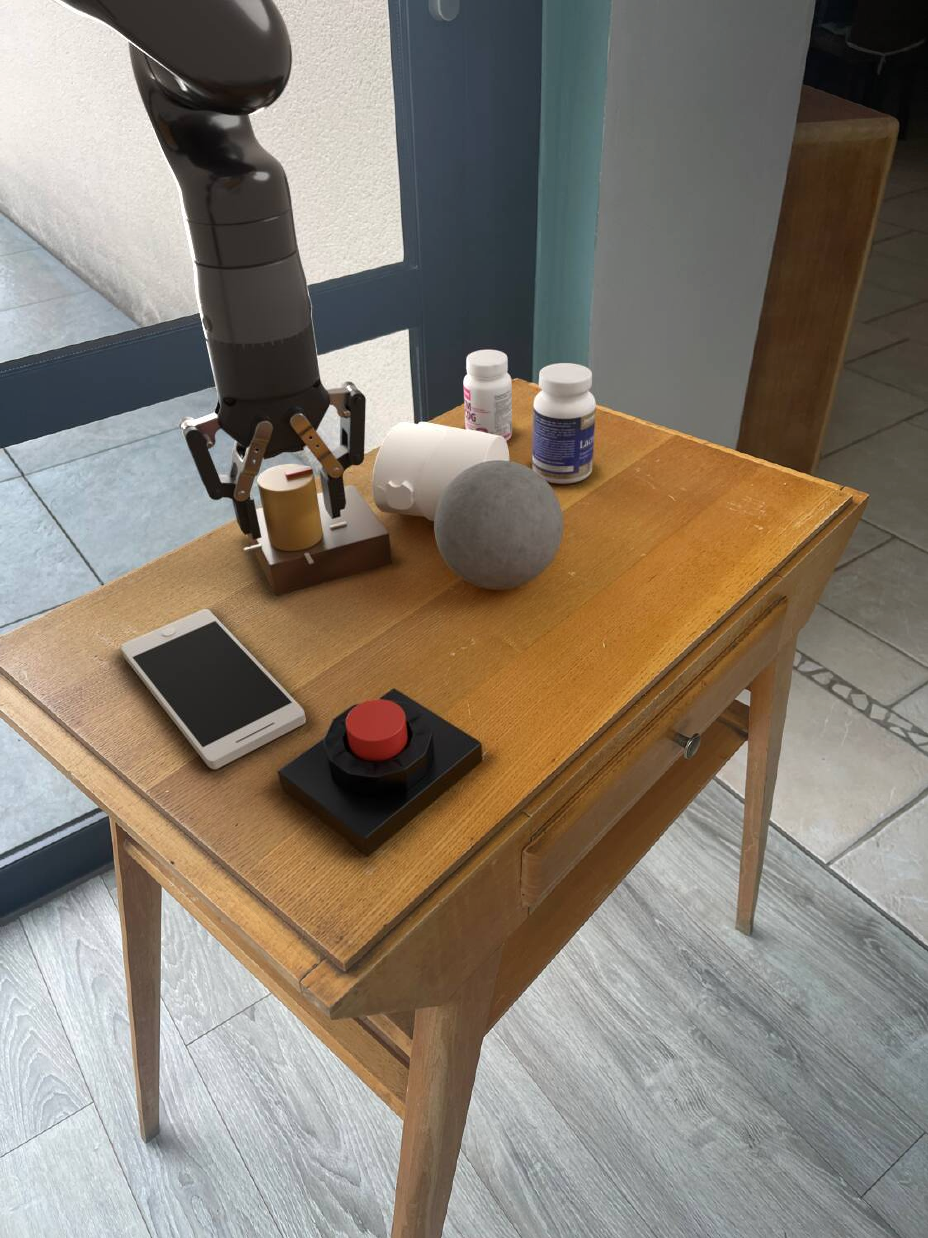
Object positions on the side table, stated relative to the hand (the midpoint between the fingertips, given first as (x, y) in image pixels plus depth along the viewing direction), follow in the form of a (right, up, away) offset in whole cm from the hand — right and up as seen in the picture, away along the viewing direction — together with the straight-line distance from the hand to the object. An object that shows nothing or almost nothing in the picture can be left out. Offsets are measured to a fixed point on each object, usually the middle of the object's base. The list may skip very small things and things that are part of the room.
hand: (293, 523), depth 75 cm
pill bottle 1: (+16, +11, +20) cm, 28 cm away
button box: (+9, -18, -16) cm, 25 cm away
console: (+1, -2, +4) cm, 5 cm away
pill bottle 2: (+23, +6, +14) cm, 28 cm away
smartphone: (-4, -13, -9) cm, 16 cm away
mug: (+13, +2, +10) cm, 16 cm away
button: (+8, -15, -18) cm, 25 cm away
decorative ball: (+17, -5, 0) cm, 17 cm away
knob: (0, -1, +1) cm, 1 cm away
